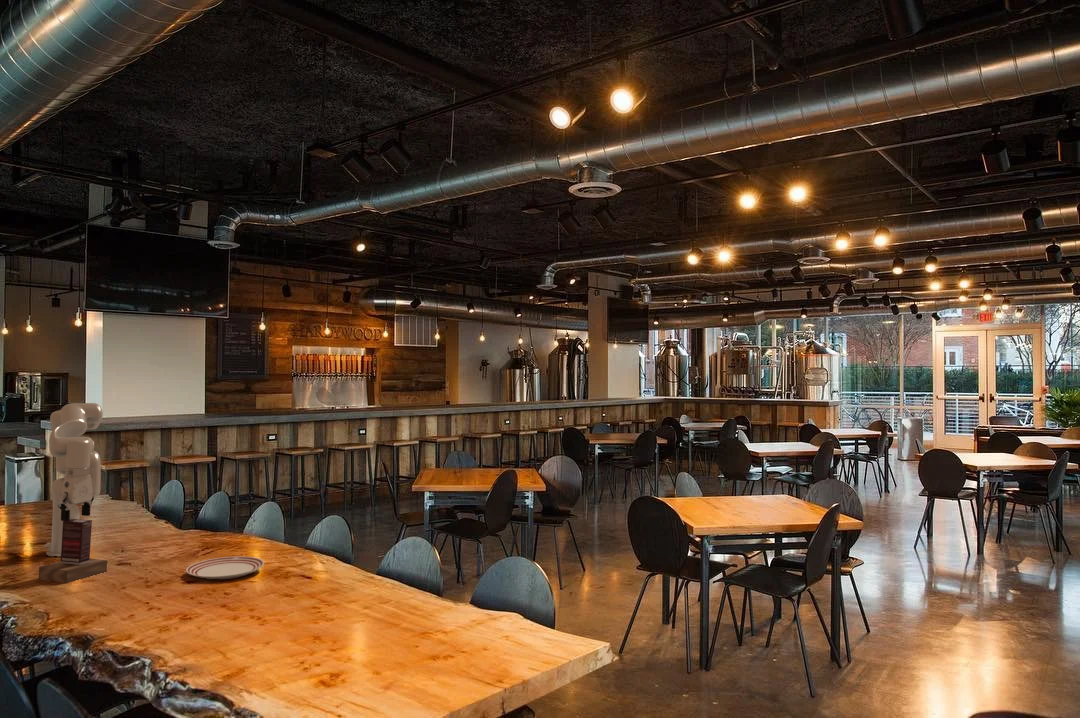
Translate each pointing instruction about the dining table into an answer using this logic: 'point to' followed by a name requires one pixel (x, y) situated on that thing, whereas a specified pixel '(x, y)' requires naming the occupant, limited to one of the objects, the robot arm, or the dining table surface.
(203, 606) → the dining table surface
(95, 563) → the walnut block
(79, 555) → the supplement box
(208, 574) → the dinner plate
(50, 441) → the robot arm
